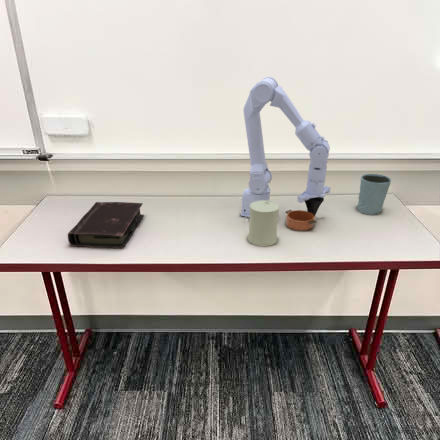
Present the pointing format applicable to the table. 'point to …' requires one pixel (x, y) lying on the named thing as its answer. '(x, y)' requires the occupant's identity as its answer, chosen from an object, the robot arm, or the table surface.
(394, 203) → the table surface
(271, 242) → the can
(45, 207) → the table surface
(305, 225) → the pan
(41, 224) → the table surface
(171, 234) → the table surface
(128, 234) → the diary
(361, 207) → the grey cylinder
